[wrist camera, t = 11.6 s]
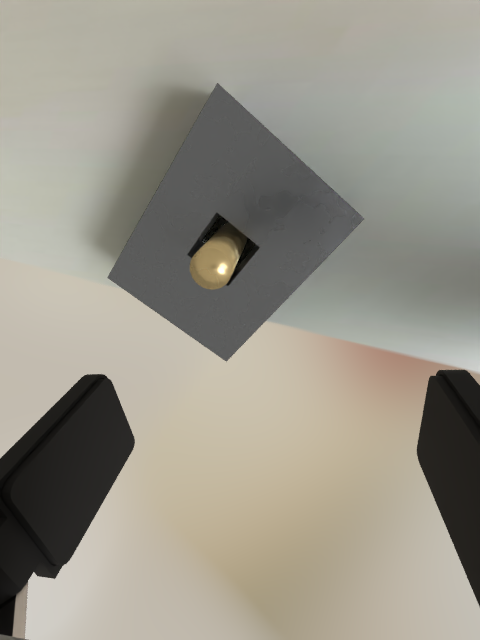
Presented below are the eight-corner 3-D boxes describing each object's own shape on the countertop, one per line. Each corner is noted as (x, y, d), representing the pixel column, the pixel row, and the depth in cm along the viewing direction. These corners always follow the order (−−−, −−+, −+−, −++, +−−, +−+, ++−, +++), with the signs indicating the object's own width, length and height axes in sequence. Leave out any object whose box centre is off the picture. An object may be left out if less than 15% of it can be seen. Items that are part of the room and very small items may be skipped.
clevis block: (351, 209, 27) (364, 218, 23) (233, 336, 35) (226, 361, 31) (229, 97, 25) (217, 82, 20) (131, 262, 32) (107, 277, 28)
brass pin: (253, 235, 29) (240, 266, 21) (235, 258, 31) (215, 297, 22) (228, 215, 29) (204, 239, 20) (211, 240, 30) (182, 272, 21)
